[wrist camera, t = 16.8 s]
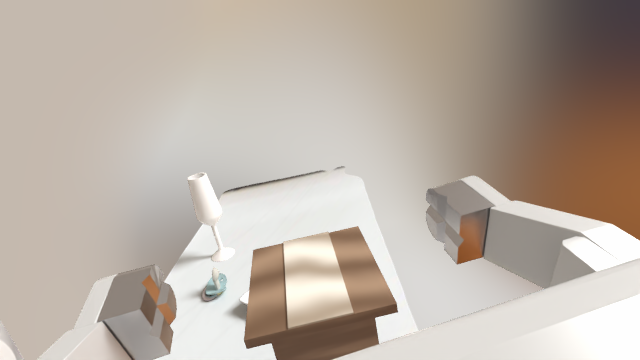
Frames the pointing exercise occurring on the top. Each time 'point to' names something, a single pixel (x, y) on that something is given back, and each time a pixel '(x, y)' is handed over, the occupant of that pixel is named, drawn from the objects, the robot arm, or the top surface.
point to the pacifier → (214, 285)
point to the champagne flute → (208, 210)
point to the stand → (316, 297)
